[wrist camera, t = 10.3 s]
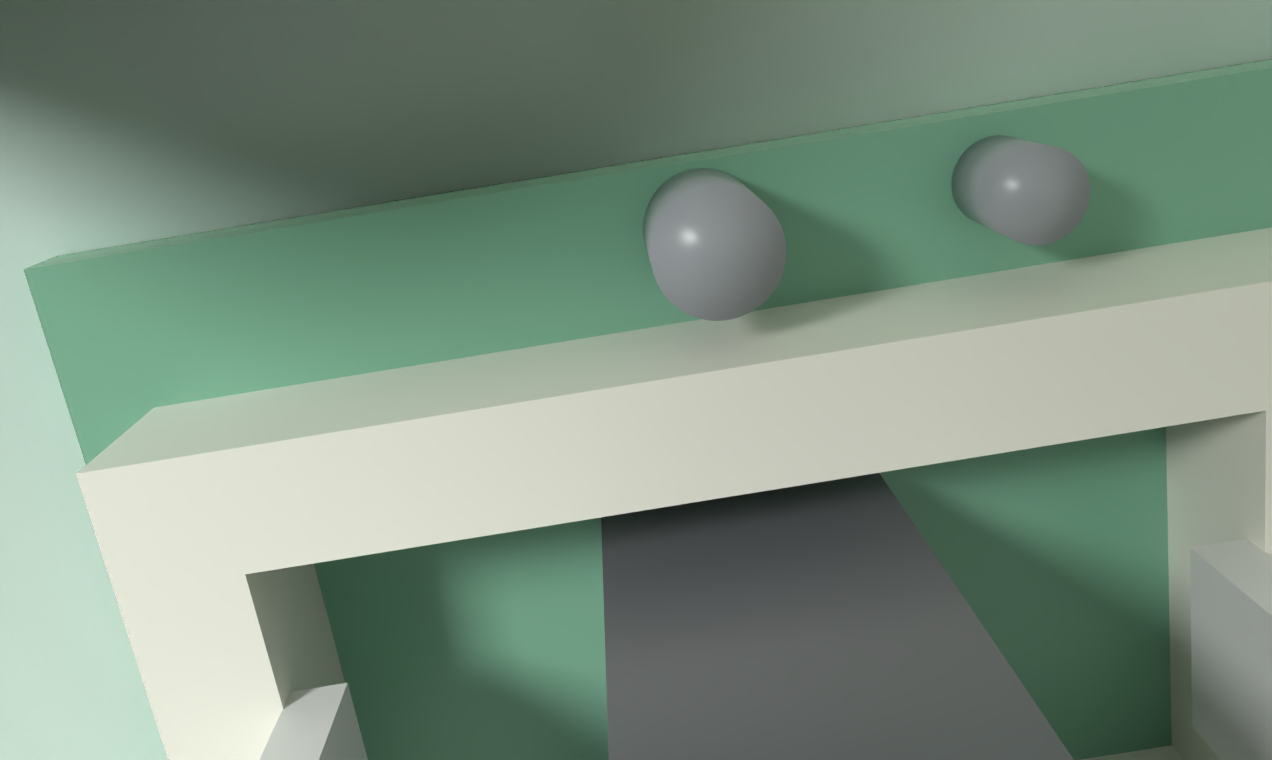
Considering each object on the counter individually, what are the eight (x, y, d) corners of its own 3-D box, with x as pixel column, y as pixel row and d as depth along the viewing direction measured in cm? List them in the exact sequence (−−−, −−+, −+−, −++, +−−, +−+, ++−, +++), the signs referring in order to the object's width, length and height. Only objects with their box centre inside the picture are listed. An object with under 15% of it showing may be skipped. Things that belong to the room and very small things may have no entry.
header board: (296, 1027, 20) (237, 1225, 17) (57, 255, 16) (-83, 312, 13) (1300, 867, 20) (1445, 1033, 17) (1318, 51, 16) (1514, 54, 13)
